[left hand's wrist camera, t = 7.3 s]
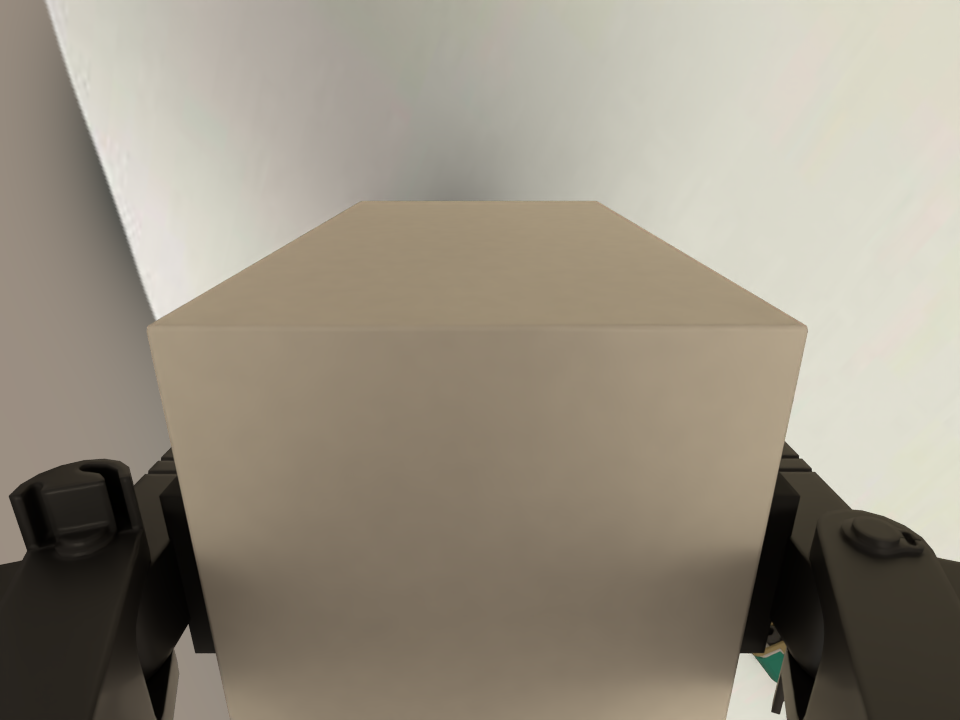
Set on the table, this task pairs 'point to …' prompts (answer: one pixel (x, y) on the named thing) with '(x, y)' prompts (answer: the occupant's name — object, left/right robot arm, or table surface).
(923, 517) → the table surface
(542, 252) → the brick
